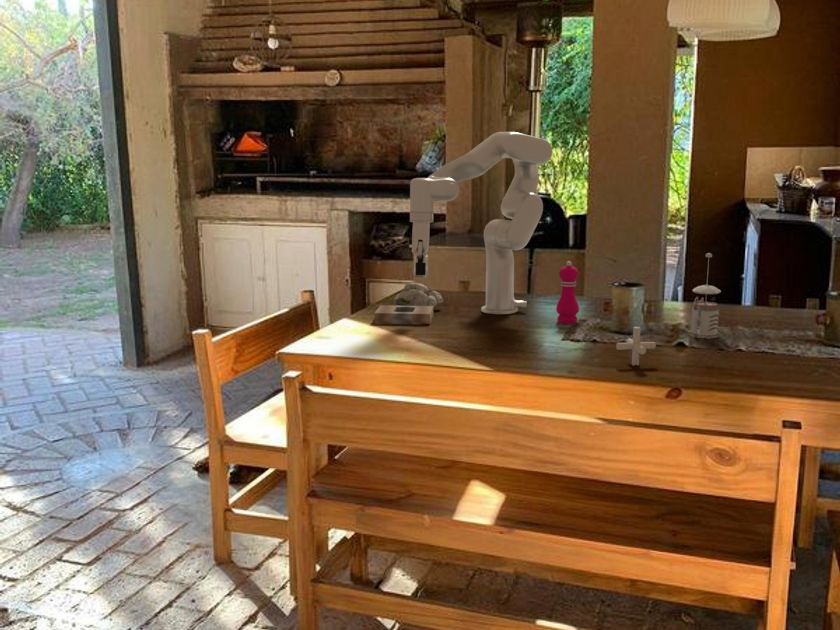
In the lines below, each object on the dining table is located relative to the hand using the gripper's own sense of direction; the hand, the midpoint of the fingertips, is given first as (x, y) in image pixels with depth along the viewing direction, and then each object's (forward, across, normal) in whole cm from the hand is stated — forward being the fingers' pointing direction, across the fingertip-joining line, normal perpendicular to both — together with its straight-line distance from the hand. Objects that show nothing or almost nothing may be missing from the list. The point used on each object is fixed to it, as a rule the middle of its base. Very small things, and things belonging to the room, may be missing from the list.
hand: (420, 273), depth 268 cm
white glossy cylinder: (+1, 0, 0) cm, 1 cm away
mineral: (+16, -22, -2) cm, 27 cm away
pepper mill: (+15, -1, +48) cm, 50 cm away
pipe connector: (+16, +51, +60) cm, 80 cm away
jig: (+16, -2, -5) cm, 17 cm away
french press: (+15, +17, +86) cm, 89 cm away
